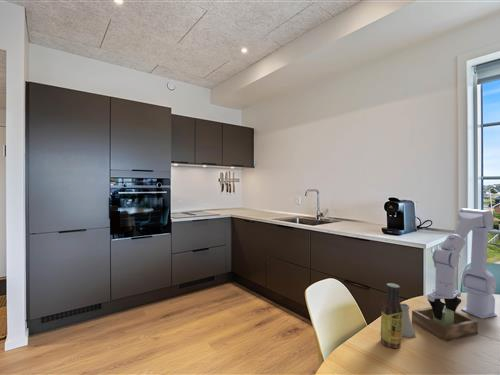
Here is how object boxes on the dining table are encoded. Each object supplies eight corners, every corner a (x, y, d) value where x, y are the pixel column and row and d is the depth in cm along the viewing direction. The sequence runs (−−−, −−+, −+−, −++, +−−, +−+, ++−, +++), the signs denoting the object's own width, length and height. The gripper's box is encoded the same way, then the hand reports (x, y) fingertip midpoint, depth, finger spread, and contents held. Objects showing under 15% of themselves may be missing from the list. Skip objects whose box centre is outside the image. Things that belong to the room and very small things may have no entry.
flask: (409, 327, 98) (409, 301, 98) (419, 338, 91) (420, 310, 91) (389, 326, 99) (389, 300, 99) (397, 337, 92) (398, 309, 91)
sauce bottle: (393, 351, 84) (395, 290, 83) (376, 341, 89) (377, 283, 89) (406, 346, 87) (407, 286, 86) (388, 336, 92) (389, 280, 92)
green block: (441, 321, 101) (442, 306, 101) (453, 327, 97) (454, 311, 97) (432, 323, 100) (433, 307, 100) (444, 329, 95) (445, 313, 95)
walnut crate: (441, 315, 107) (442, 305, 107) (477, 333, 94) (478, 321, 94) (411, 321, 102) (412, 310, 102) (445, 341, 90) (445, 328, 89)
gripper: (447, 275, 104) (446, 309, 104) (420, 279, 99) (419, 314, 100) (467, 282, 97) (466, 318, 97) (438, 286, 93) (437, 324, 93)
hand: (443, 317), depth 98 cm, fingers open, 6 cm apart
